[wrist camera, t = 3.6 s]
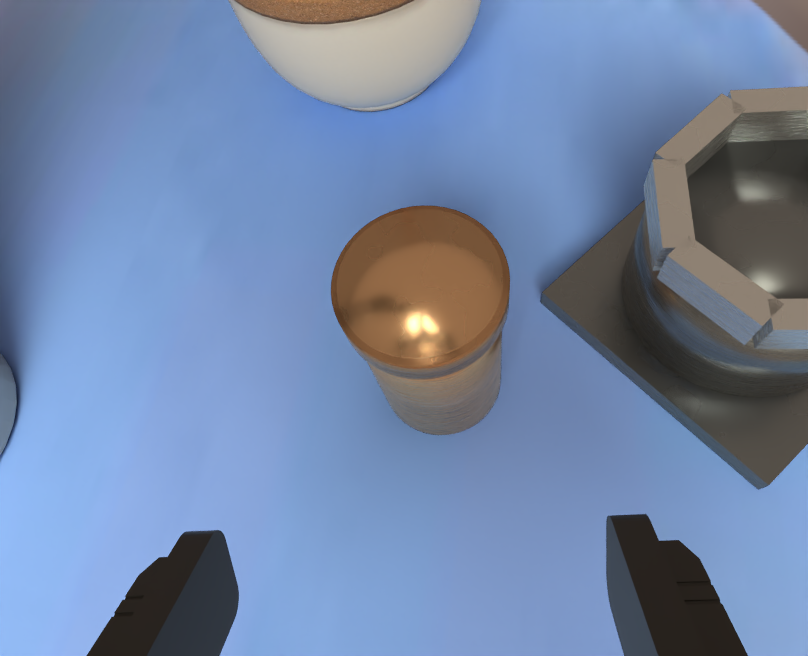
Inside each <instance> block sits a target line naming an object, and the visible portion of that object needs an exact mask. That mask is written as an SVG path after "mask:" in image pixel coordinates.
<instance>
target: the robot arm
mask: <svg viewBox="0 0 808 656" xmlns="http://www.w3.org/2000/svg"><path fill="white" fill-rule="evenodd" d="M16 405H17V398H16V384H15V380H14V377H13V374H12V370H11V368H10V366H9V365H8V363H7V361H6V360H5V358H4V357H3V355H2V354H1V353H0V455H1V453H2V451H3V449H4V448H5V446H6V444H7V441H8V438H9V435H10V432H11V430H12V427H13V424H14V418H15V412H16ZM606 574H607V589H608V596H609V602H610V607H611V611H612V614H613V618H614V621H615V625H616V628H617V632H618V635H619V639H620V642H621V646H622V650H623V653H624V656H748V655H747V653H746V651H745V649H744V647H743V645H742V643H741V641H740V639H739V637H738V635H737V633H736V631H735V629H734V627H733V625H732V623H731V621H730V619H729V617H728V615H727V613H726V611H725V609H724V607H723V605H722V604H721V603H720V599H719V597H718V595H717V593H716V591H715V589H714V587H713V585H711V581H710V579H709V577H708V575H707V573H706V571H705V569H704V567H703V565H702V563H701V561H700V559H699V558H698V557H697V556H696V555H695V554H694V553H693V552H691V551H690V550H689V549H688V548H687V547H686V546H685V545H684V544H683V543H681V542H680V541H679V540H671V541H659V540H658V538H657V535H656V533H655V531H654V528H653V526H652V524H651V521H650V519H649V517H648V516H647V515H646V514H638V515H614V516H608V517H607V524H606ZM125 597H126V598H125V600H122V602H121V603H120V605H119V607H118V608H117V610H116V611H115V615H114V617H111V619H110V620H109V622H108V624H107V625H106V627H105V628H104V630H103V631H102V633H101V634H100V636H99V637H98V639H97V641H96V642H95V644H94V645H93V647H92V648H91V650H90V651H89V653H88V654H87V656H219V655H220V653H221V651H222V648H223V646H224V643H225V641H226V639H227V636H228V634H229V631H230V629H231V627H232V624H233V622H234V619H235V617H236V613H237V609H238V601H239V592H238V585H237V581H236V577H235V573H234V570H233V566H232V562H231V558H230V555H229V551H228V547H227V543H226V539H225V536H224V534H223V533H222V532H221V531H219V530H214V531H190V532H184V533H183V534H182V535H181V536H180V538H179V539H178V541H177V543H176V544H175V546H174V548H173V549H172V551H171V552H170V554H169V556H168V557H159V558H158V559H157V560H156V561H155V562H153V563H152V564H151V565H150V566H149V567H148V568H147V569H145V570H144V571H143V572H142V573H141V574H140V575H139V576H138V577H137V579H136V580H135V582H134V583H133V585H132V586H131V588H130V590H129V591H128V593H127V594H126V596H125Z"/></svg>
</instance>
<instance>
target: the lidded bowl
mask: <svg viewBox="0 0 808 656" xmlns="http://www.w3.org/2000/svg"><path fill="white" fill-rule="evenodd" d="M228 1H229V3H230V5H231V7H232V9H233V11H234V13H235V15H236V17H237V19H238V20H239V22H240V24H241V26H242V28H243V29H244V31H245V32H246V34H247V36H248V37H249V39H250V40H251V42H252V44H253V45H254V47H255V48H256V49H257V51H258V52H259V53H260V54H261V56H262V57H263V58H264V59H265V61H266V62H267V63H268V64H269V65H270V66H271V67H272V69H273V70H274V71H275V72H276V73H277V74H279V75H280V76H281V77H282V78H283V79H284V80H286V81H287V82H288V83H289V84H291V85H292V86H293V87H295V88H296V89H298V90H300V91H301V92H303V93H305V94H307V95H309V96H311V97H313V98H315V99H317V100H320V101H323V102H326V103H329V104H333V105H338V106H341V107H344V108H347V109H350V110H356V111H366V112H372V111H382V110H387V109H391V108H394V107H397V106H400V105H403V104H405V103H407V102H409V101H411V100H412V99H414V98H415V97H417V96H418V95H420V94H421V93H422V92H423V91H424V90H426V89H427V88H428V87H429V85H430V84H431V83H432V82H434V81H435V80H436V79H437V78H438V77H439V76H441V75H442V74H443V73H444V72H445V71H446V70H447V69H448V67H449V66H450V65H451V64H452V63H453V62H454V60H455V59H456V57H457V56H458V55H459V53H460V52H461V50H462V48H463V47H464V45H465V43H466V42H467V40H468V38H469V35H470V33H471V31H472V28H473V26H474V23H475V21H476V18H477V15H478V12H479V8H480V4H481V0H228Z"/></svg>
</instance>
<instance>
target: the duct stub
mask: <svg viewBox="0 0 808 656" xmlns="http://www.w3.org/2000/svg"><path fill="white" fill-rule="evenodd" d="M643 187H644V197H645V200H644V201H643V202H642V203H640V204H639V205H638V206H637V207H636V208H635V209H634V210H633V211H632V212H631V213H629V214H628V215H627V216H626V217H625V218H624V219H623V220H622V221H621V222H619V223H618V224H617V225H616V226H615V227H614V228H613V229H612V230H611V231H610V232H608V233H607V234H606V235H605V236H604V237H603V238H602V239H601V240H600V241H599V242H597V243H596V244H595V245H594V246H593V247H592V248H591V249H590V250H589V251H587V252H586V253H585V254H584V255H583V256H582V257H581V258H580V259H579V260H578V261H576V262H575V263H574V264H573V265H572V266H571V267H570V268H569V269H568V270H566V271H565V272H564V273H563V274H562V275H561V276H560V277H559V278H558V279H557V280H555V281H554V282H553V283H552V284H551V285H550V286H549V287H548V288H547V289H545V290H544V291H543V292H542V298H541V303H542V304H543V305H544V306H545V307H546V308H548V309H549V310H550V311H551V312H552V313H553V314H555V315H556V316H557V317H558V318H559V319H560V320H562V321H563V322H564V323H565V324H566V325H567V326H569V327H570V328H571V329H572V330H573V331H574V332H576V333H577V334H578V335H579V336H580V337H581V338H583V339H584V340H585V341H586V342H587V343H588V344H589V345H591V346H592V347H593V348H594V349H595V350H596V351H598V352H599V353H600V354H601V355H602V356H603V357H605V358H606V359H607V360H608V361H609V362H610V363H612V364H613V365H614V366H615V367H616V368H617V369H619V370H620V371H621V372H622V373H623V374H624V375H626V376H627V377H628V378H629V379H630V380H631V381H633V382H634V383H635V384H636V385H637V386H638V387H640V388H641V389H642V390H643V391H644V392H645V393H646V394H648V395H649V396H650V397H651V398H652V399H653V400H655V401H656V402H657V403H658V404H659V405H660V406H662V407H663V408H664V409H665V410H666V411H667V412H669V413H670V414H671V415H672V416H673V417H674V418H676V419H677V420H678V421H679V422H680V423H681V424H683V425H684V426H685V427H686V428H687V429H688V430H690V431H691V432H692V433H693V434H694V435H695V436H696V437H698V438H699V439H700V440H701V441H702V442H703V443H705V444H706V445H707V446H708V447H709V448H710V449H712V450H713V451H714V452H715V453H716V454H717V455H719V456H720V457H721V458H722V459H723V460H724V461H726V462H727V463H728V464H729V465H730V466H731V467H733V468H734V469H735V470H736V471H737V472H738V473H740V474H741V475H742V476H743V477H744V478H745V479H746V480H748V481H749V482H750V483H751V484H752V485H753V486H755V487H756V488H757V489H758V490H759V489H761V488H764V487H766V486H768V485H770V483H771V482H772V481H773V480H774V479H775V478H776V477H777V476H778V475H779V474H780V473H781V472H782V471H783V470H784V468H785V467H786V466H787V465H788V464H789V463H790V462H791V461H792V460H793V459H794V458H795V457H796V456H797V455H798V453H799V452H800V451H801V450H802V449H803V448H804V447H805V446H806V445H807V444H808V87H788V88H769V89H750V90H730V92H729V94H728V96H725V95H723V94H721V95H720V96H718V97H717V98H716V99H715V100H714V101H713V102H712V103H711V104H710V105H708V106H707V107H706V108H705V109H704V110H703V111H702V112H701V113H699V114H698V115H697V116H696V117H695V118H694V119H693V120H692V121H690V122H689V123H688V124H687V125H686V126H685V127H684V128H683V129H681V130H680V131H679V132H678V133H677V134H676V135H675V136H674V137H672V138H671V139H670V140H669V141H668V142H667V143H666V144H665V145H663V146H662V147H661V148H660V149H659V150H658V151H657V152H656V153H655V155H654V158H653V160H652V163H651V166H650V169H649V172H648V174H647V177H646V180H645V183H644V186H643Z"/></svg>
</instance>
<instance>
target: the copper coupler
mask: <svg viewBox="0 0 808 656" xmlns="http://www.w3.org/2000/svg"><path fill="white" fill-rule="evenodd" d="M509 290H510V275H509V267H508V263H507V259H506V257H505V254H504V252H503V249H502V248H501V246H500V244H499V243H498V241H497V240H496V238H495V237H494V236H493V235H492V233H491V232H490V231H489V230H488V229H487V228H485V227H484V226H483V225H482V224H481V223H479V222H478V221H477V220H475V219H473V218H472V217H470V216H468V215H466V214H464V213H461V212H459V211H456V210H453V209H449V208H445V207H438V206H412V207H407V208H401V209H398V210H395V211H392V212H389V213H387V214H384V215H382V216H380V217H378V218H376V219H375V220H373V221H371V222H370V223H368V224H367V225H366V226H364V227H363V228H362V229H361V230H359V231H358V232H357V233H356V234H355V235H354V236H353V237H352V238H351V240H350V241H349V242H348V243H347V245H346V246H345V248H344V249H343V251H342V252H341V254H340V256H339V258H338V260H337V262H336V265H335V268H334V271H333V276H332V282H331V297H332V304H333V308H334V312H335V315H336V317H337V320H338V322H339V324H340V326H341V327H342V329H343V331H344V333H345V335H346V336H347V338H348V340H349V342H350V343H351V345H352V346H353V348H354V349H355V350H356V351H357V353H358V354H359V355H360V356H361V357H362V358H363V359H365V360H366V361H367V363H368V365H369V366H370V368H371V370H372V372H373V374H374V376H375V378H376V380H377V382H378V384H379V385H380V387H381V389H382V391H383V393H384V395H385V397H386V399H387V401H388V403H389V404H390V406H391V408H392V409H393V411H394V412H395V414H396V415H397V416H398V417H399V418H400V419H401V420H402V421H403V422H404V423H406V424H407V425H409V426H410V427H412V428H414V429H416V430H418V431H421V432H423V433H428V434H433V435H449V434H455V433H458V432H462V431H464V430H466V429H469V428H471V427H472V426H474V425H475V424H477V423H478V422H479V421H481V420H482V419H483V418H484V417H485V416H486V415H487V414H488V413H489V411H490V410H491V408H492V407H493V405H494V403H495V401H496V399H497V396H498V393H499V389H500V380H501V343H502V329H503V326H504V323H505V321H506V318H507V313H508V308H509Z"/></svg>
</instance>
